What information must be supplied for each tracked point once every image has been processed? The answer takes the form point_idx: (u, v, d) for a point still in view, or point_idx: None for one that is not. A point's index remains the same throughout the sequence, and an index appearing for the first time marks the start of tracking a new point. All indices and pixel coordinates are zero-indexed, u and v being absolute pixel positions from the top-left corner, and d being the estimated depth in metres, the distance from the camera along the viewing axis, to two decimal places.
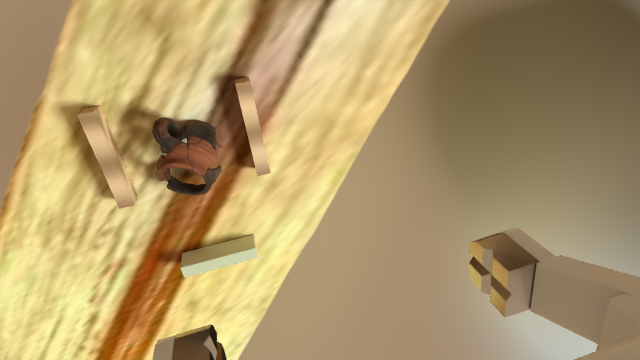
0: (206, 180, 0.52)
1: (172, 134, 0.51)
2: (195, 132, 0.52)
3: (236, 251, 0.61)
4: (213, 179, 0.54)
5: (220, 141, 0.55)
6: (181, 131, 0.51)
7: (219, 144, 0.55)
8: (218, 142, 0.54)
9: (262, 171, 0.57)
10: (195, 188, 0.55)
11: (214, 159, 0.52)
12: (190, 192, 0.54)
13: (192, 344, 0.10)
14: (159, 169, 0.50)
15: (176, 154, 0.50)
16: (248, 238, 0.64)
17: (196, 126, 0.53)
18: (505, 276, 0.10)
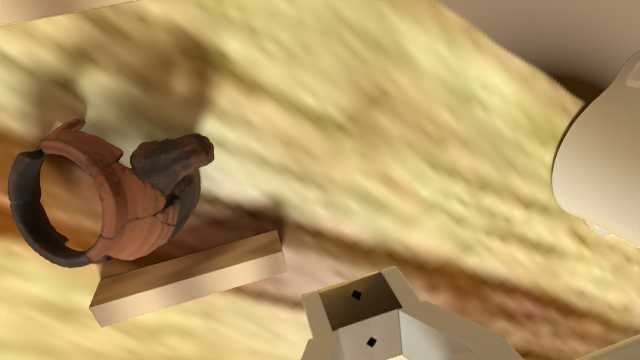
0: (73, 261, 0.21)
1: None
2: (184, 206, 0.25)
3: None
4: None
5: None
6: (183, 181, 0.24)
7: None
8: None
9: (102, 314, 0.27)
10: (34, 215, 0.22)
11: (131, 258, 0.23)
12: (19, 208, 0.21)
13: (339, 296, 0.10)
14: (82, 155, 0.20)
15: (135, 192, 0.21)
16: None
17: (193, 196, 0.26)
18: (367, 322, 0.10)
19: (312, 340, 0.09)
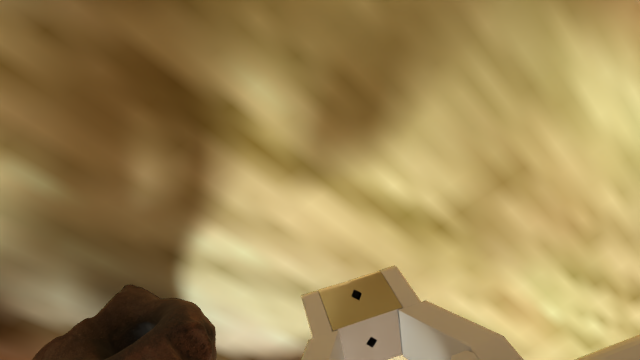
0: None
1: None
2: None
3: None
4: None
5: None
6: None
7: None
8: None
9: None
10: None
11: None
12: None
13: (340, 296, 0.10)
14: None
15: None
16: None
17: None
18: (367, 322, 0.10)
19: (312, 340, 0.09)
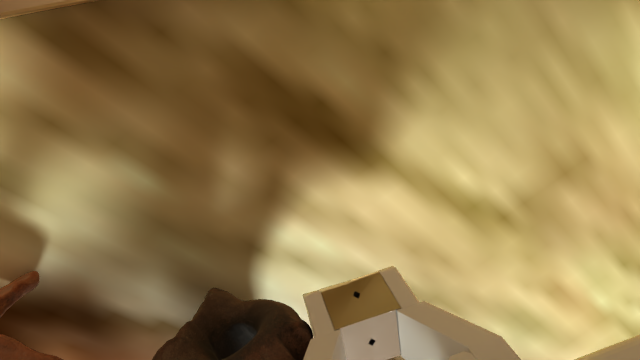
0: None
1: None
2: None
3: None
4: None
5: None
6: None
7: None
8: None
9: None
10: None
11: None
12: None
13: (341, 296, 0.10)
14: None
15: None
16: None
17: None
18: (366, 323, 0.10)
19: (314, 339, 0.09)
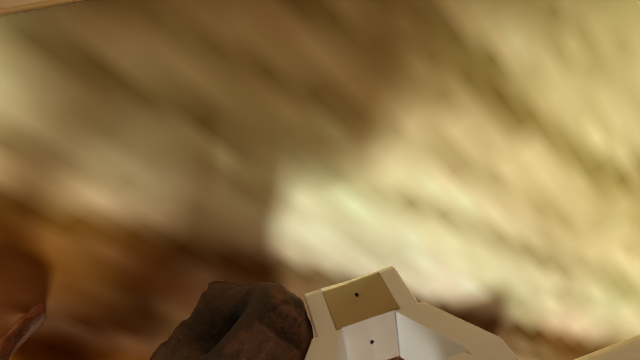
0: None
1: None
2: None
3: None
4: None
5: None
6: None
7: None
8: None
9: None
10: None
11: None
12: None
13: (343, 295, 0.10)
14: None
15: None
16: None
17: None
18: (364, 324, 0.10)
19: (316, 339, 0.09)
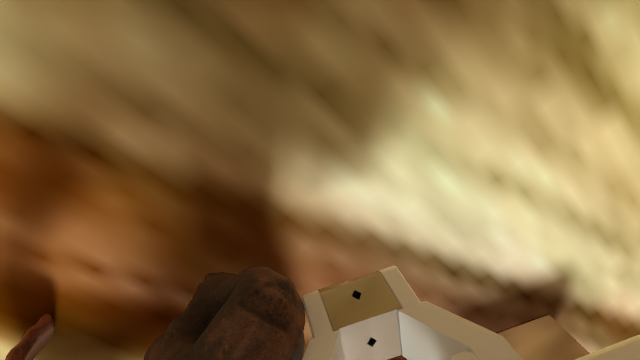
0: None
1: None
2: None
3: None
4: None
5: None
6: None
7: None
8: None
9: None
10: None
11: None
12: None
13: (340, 296, 0.10)
14: None
15: None
16: None
17: None
18: (367, 323, 0.10)
19: (313, 340, 0.09)
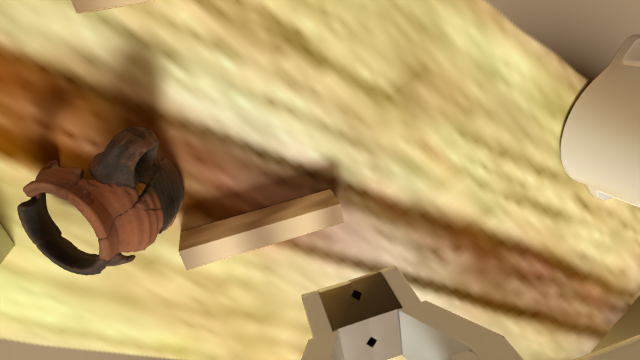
0: (96, 267, 0.26)
1: None
2: (163, 190, 0.28)
3: None
4: None
5: (171, 223, 0.31)
6: (149, 170, 0.27)
7: None
8: None
9: (189, 257, 0.31)
10: (58, 247, 0.27)
11: (142, 248, 0.27)
12: (43, 246, 0.26)
13: (339, 296, 0.10)
14: (50, 185, 0.23)
15: (106, 196, 0.25)
16: (4, 239, 0.29)
17: (171, 179, 0.29)
18: (367, 322, 0.10)
19: (312, 340, 0.09)
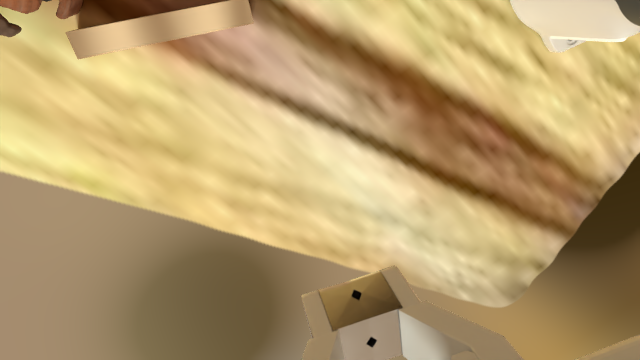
0: None
1: None
2: None
3: None
4: None
5: (67, 9, 0.29)
6: None
7: (60, 9, 0.29)
8: (62, 5, 0.28)
9: (78, 42, 0.29)
10: None
11: (22, 8, 0.26)
12: None
13: (339, 296, 0.10)
14: None
15: None
16: None
17: None
18: (367, 322, 0.10)
19: (312, 340, 0.09)
